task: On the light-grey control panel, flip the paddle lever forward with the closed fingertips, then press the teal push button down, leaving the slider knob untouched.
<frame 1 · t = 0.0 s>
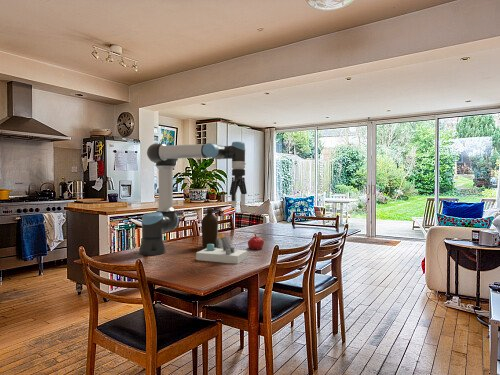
hand: (238, 206, 195), 28 cm above the table, tool pointing down, fingers open, 13 cm apart
slider: (226, 247, 188), point 6 cm above the table, slide at -2.5 cm
panel: (222, 258, 185), on the table
olive oil: (209, 246, 219), on the table
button: (210, 248, 189), point 5 cm above the table, slide at 0.0 cm
lever: (226, 243, 180), point 9 cm above the table, hinge at -30.0°
electrical switch: (223, 252, 203), on the table
pomegranate: (255, 248, 213), on the table
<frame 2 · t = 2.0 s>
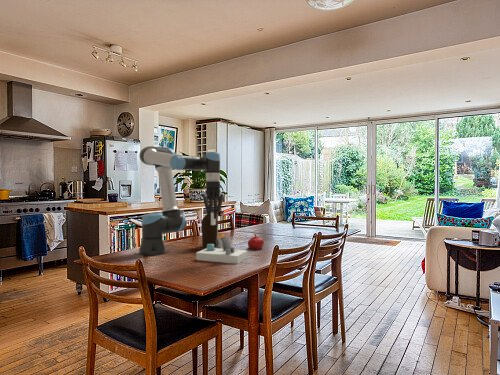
hand: (213, 224, 183), 19 cm above the table, tool pointing down, fingers closed
nothing on the table moved.
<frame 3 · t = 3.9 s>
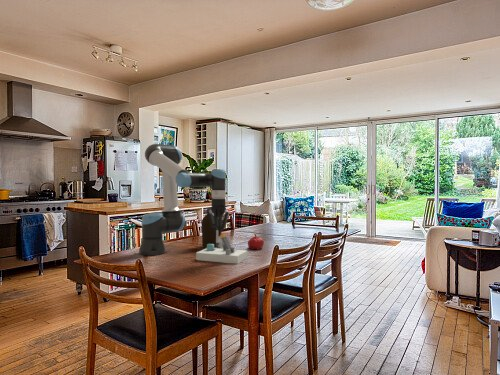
hand: (218, 242, 182), 10 cm above the table, tool pointing down, fingers closed
lever: (226, 243, 180), point 9 cm above the table, hinge at -26.5°, touching gripper
everything else where it was.
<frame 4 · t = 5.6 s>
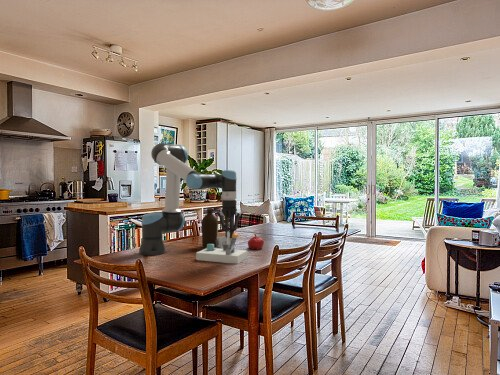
hand: (229, 244, 180), 9 cm above the table, tool pointing down, fingers closed
lever: (232, 243, 179), point 10 cm above the table, hinge at 18.4°, touching gripper
everything else where it was.
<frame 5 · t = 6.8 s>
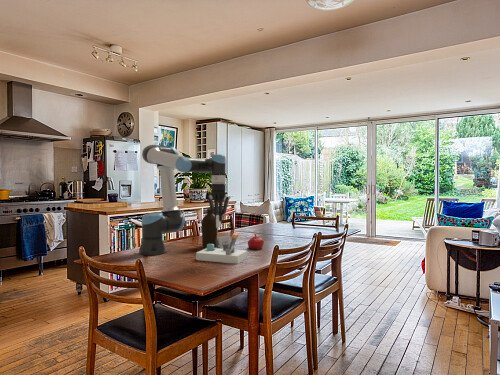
hand: (218, 227, 182), 18 cm above the table, tool pointing down, fingers closed
lever: (232, 243, 179), point 10 cm above the table, hinge at 18.5°
everything else where it was.
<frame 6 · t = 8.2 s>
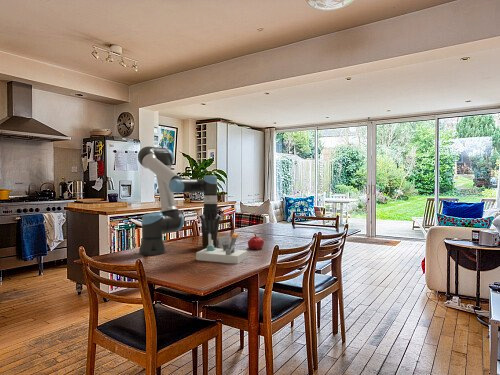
hand: (210, 245, 189), 6 cm above the table, tool pointing down, fingers closed
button: (210, 250, 189), point 4 cm above the table, slide at 0.8 cm, touching gripper
everything else where it was.
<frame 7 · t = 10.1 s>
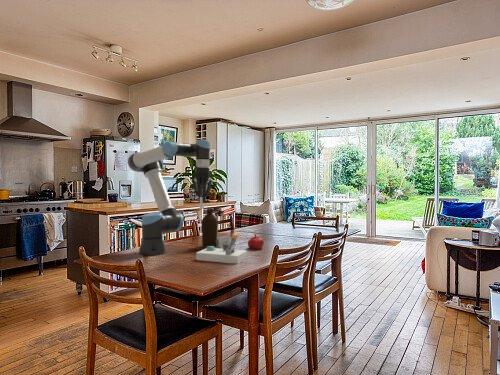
hand: (201, 208, 194), 27 cm above the table, tool pointing down, fingers closed
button: (210, 251, 189), point 3 cm above the table, slide at 1.3 cm
everything else where it was.
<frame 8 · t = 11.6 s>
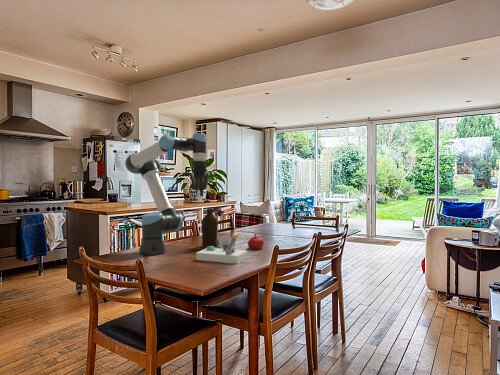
hand: (199, 201, 195), 30 cm above the table, tool pointing down, fingers closed
nothing on the table moved.
at the end: lever at +18° (first picture: -30°); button slide at 1.3 cm; slider slide at -2.5 cm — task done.
